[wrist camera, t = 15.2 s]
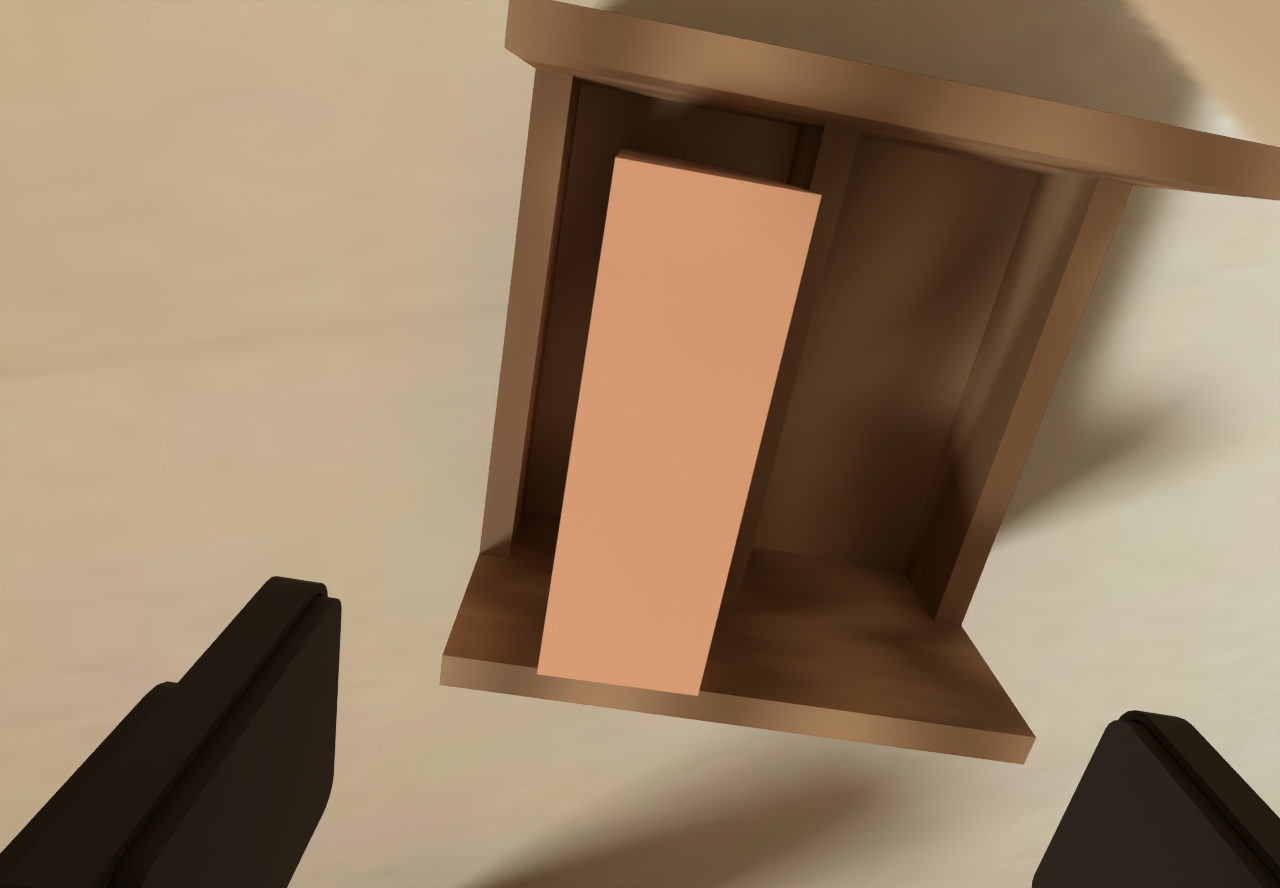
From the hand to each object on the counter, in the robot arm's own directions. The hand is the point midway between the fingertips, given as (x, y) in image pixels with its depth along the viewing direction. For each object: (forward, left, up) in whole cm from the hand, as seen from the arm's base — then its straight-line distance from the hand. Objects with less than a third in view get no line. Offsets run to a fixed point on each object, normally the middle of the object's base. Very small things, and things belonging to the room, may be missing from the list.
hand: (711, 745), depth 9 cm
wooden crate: (-4, 0, -20) cm, 21 cm away
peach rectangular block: (0, 0, -19) cm, 19 cm away
